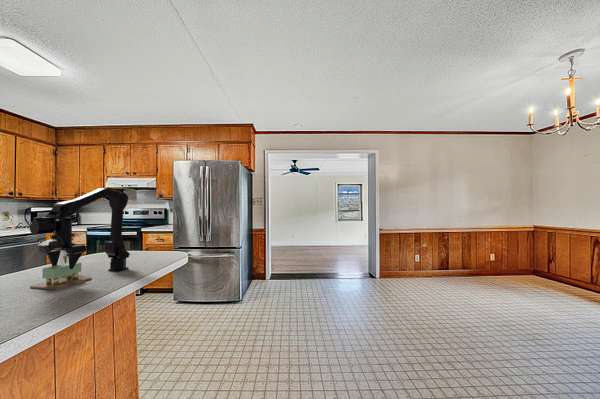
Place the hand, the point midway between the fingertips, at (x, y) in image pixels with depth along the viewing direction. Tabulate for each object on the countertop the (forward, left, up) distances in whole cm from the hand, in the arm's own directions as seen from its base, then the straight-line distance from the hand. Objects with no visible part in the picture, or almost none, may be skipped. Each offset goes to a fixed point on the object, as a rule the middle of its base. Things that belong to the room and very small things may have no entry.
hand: (62, 268), depth 119 cm
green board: (0, 0, -3) cm, 3 cm away
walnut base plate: (0, 0, -6) cm, 6 cm away
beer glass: (-13, -16, -7) cm, 22 cm away
